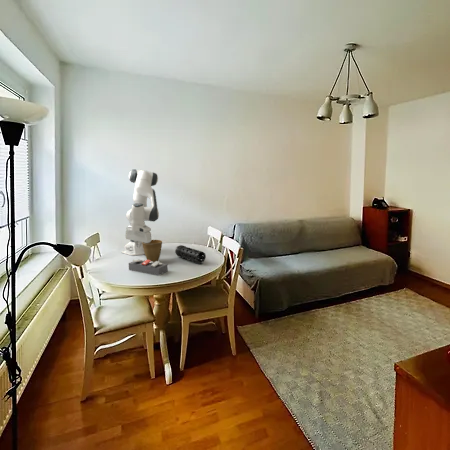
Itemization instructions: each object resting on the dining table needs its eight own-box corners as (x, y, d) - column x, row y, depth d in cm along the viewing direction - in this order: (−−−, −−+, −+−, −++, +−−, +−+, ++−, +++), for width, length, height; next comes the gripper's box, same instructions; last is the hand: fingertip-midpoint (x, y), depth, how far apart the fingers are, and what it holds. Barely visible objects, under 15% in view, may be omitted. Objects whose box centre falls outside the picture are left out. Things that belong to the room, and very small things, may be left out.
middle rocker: (141, 265, 206) (141, 263, 205) (147, 261, 211) (147, 259, 210) (145, 266, 204) (145, 264, 204) (151, 262, 209) (150, 260, 209)
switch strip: (128, 269, 211) (128, 262, 210) (138, 265, 220) (138, 258, 219) (158, 275, 200) (158, 267, 199) (167, 270, 209) (167, 263, 208)
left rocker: (132, 262, 209) (132, 259, 209) (138, 261, 214) (138, 259, 214) (136, 263, 207) (136, 260, 207) (142, 262, 213) (142, 260, 213)
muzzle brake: (196, 266, 221) (196, 252, 219) (174, 258, 240) (173, 245, 238) (206, 263, 227) (206, 250, 225) (183, 255, 247) (183, 243, 245)
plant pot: (166, 260, 233) (166, 240, 230) (153, 265, 220) (152, 244, 217) (152, 257, 240) (151, 238, 237) (138, 262, 227) (137, 242, 224)
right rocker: (151, 267, 203) (150, 264, 202) (156, 263, 208) (156, 260, 207) (155, 267, 201) (154, 265, 201) (160, 263, 206) (160, 261, 206)
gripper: (123, 226, 203) (123, 245, 205) (146, 230, 194) (146, 250, 196) (129, 224, 208) (130, 244, 211) (152, 228, 199) (152, 248, 202)
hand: (138, 247), depth 204 cm, fingers closed
